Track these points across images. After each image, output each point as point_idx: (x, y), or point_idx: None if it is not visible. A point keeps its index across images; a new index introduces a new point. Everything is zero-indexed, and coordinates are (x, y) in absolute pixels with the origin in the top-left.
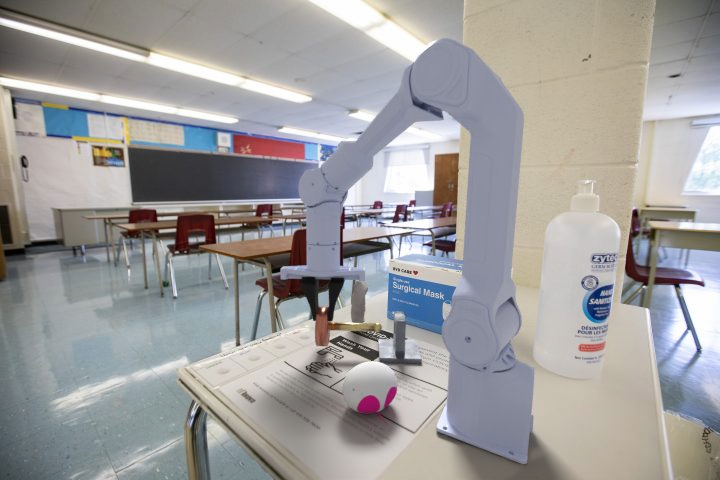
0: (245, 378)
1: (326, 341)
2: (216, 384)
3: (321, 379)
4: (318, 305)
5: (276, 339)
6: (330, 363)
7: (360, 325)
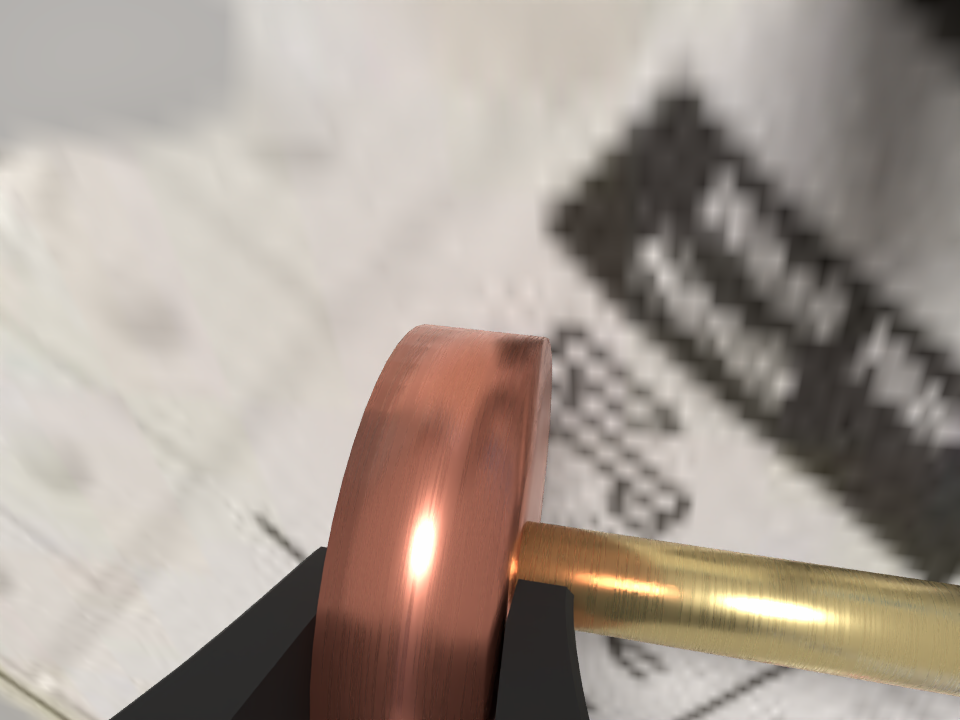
0: (128, 645)
1: None
2: (30, 665)
3: None
4: (290, 658)
5: (48, 179)
6: None
7: (948, 694)
